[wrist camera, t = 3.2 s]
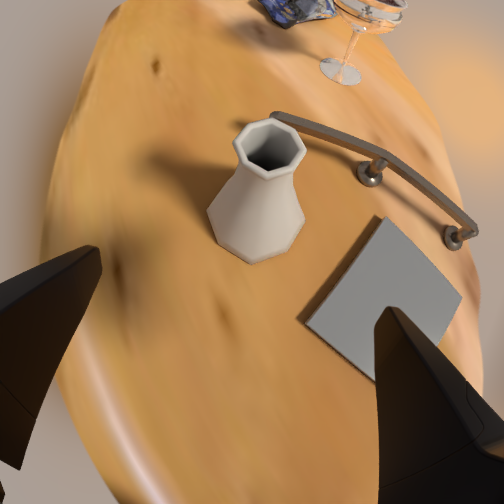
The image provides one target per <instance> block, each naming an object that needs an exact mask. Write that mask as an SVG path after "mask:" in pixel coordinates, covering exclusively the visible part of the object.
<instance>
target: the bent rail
mask: <svg viewBox="0 0 504 504" xmlns="http://www.w3.org/2000/svg"><path fill="white" fill-rule="evenodd" d="M271 117H273V118H275V119H277V120H279V121H281V122H283V123H285V124H286V125H288V126H290V127H292V128H294V129H296V131H298V132H301V133H305V134H308V135H311V136H314V137H316V138H319V139H322V140H325V141H328V142H331V143H333V144H336V145H339V146H341V147H344V148H347V149H349V150H352V151H354V152H357V153H359V154H362V155H364V156H367V157H369V158H371V159H373V160H372V161H364V162H362V163H361V164H360V165H359V166H358V168H357V172H356V173H357V177H358V179H359V181H360V182H361V183H362V184H363V185H365V186H367V187H376V186H377V185H378V184H379V183H380V182H381V181H382V177H383V176H382V171H383V169H384V168H385V167H386V166H387V167H388V168H390V169H391V170H393V171H394V172H395V173H397V174H398V175H400V176H401V177H402V178H404V179H405V180H406V181H408V182H409V183H410V184H412V185H413V186H414V187H416V188H417V189H418V190H419V191H421V192H422V193H423V194H424V195H426V196H427V197H428V198H429V199H431V200H432V201H433V202H434V203H436V204H437V205H438V206H439V207H440V208H441V209H443V210H444V211H445V212H446V213H447V214H448V215H450V216H451V217H452V218H453V219H454V220H455V221H456V222H457V223H459V224H460V225H461V226H462V228H460V229H458V228H457V227H456V226H449V227H447V228H446V229H445V231H444V234H443V238H444V242H445V245H446V246H447V248H448V249H449V250H451V251H456V250H459V249H460V248H461V246H462V243H463V241H465V240H467V239H470V238H472V237H475V236H477V235H478V232H479V231H478V227H477V224H476V223H475V222H474V221H473V220H472V219H471V218H470V217H469V216H468V215H467V214H466V213H464V212H463V211H462V210H461V209H460V208H459V207H458V206H457V205H456V204H455V203H453V202H452V201H451V200H450V199H449V198H448V197H447V196H446V195H444V194H443V193H442V192H441V191H440V190H438V189H437V188H436V187H435V186H434V185H432V184H431V183H430V182H429V181H427V180H426V179H425V178H424V177H422V176H421V175H420V174H419V173H417V172H416V171H415V170H413V169H412V168H411V167H409V166H408V165H407V164H405V163H404V162H403V161H401V160H400V159H399V158H397V157H396V156H394V155H393V154H391V153H390V152H389V151H388V152H387V150H385V149H382V148H380V147H378V146H375V145H373V144H371V143H368V142H366V141H364V140H361V139H359V138H356V137H354V136H351V135H349V134H346V133H343V132H341V131H338V130H335V129H333V128H330V127H327V126H324V125H322V124H319V123H316V122H313V121H310V120H307V119H304V118H300V117H297V116H294V115H291V114H287V113H284V112H281V111H279V112H278V111H274V112H272V113H271V114H270V117H269V118H271Z"/></svg>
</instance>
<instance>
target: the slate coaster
mask: <svg viewBox="0 0 504 504" xmlns="http://www.w3.org/2000/svg"><path fill="white" fill-rule="evenodd" d="M461 300H462V296H461V295H460V294H459V293H458V292H457V290H456V289H455V288H454V287H453V286H452V285H451V283H450V282H449V281H448V280H447V279H446V278H445V276H444V275H443V274H442V273H441V272H440V271H439V270H438V269H437V268H436V266H435V265H434V264H433V263H432V262H431V261H430V260H429V259H428V258H427V257H426V256H425V255H424V253H423V252H422V251H421V250H420V249H419V248H418V247H417V246H416V245H415V244H414V243H413V242H412V241H411V240H410V239H409V238H408V237H407V236H406V235H405V234H404V233H403V232H402V231H401V230H400V229H399V228H398V227H397V226H396V225H395V224H394V223H393V222H392V221H391V220H390V219H389V218H388V217H384V218H383V219H382V220H381V221H380V223H379V224H378V226H377V227H376V229H375V230H374V232H373V233H372V235H371V236H370V237H369V239H368V240H367V242H366V243H365V245H364V246H363V247H362V249H361V250H360V252H359V253H358V254H357V256H356V257H355V259H354V260H353V261H352V263H351V264H350V265H349V267H348V268H347V270H346V271H345V272H344V274H343V275H342V276H341V278H340V279H339V280H338V282H337V283H336V284H335V285H334V287H333V288H332V289H331V291H330V292H329V293H328V295H327V296H326V297H325V298H324V300H323V301H322V302H321V303H320V305H319V306H318V307H317V308H316V310H315V311H314V312H313V313H312V315H311V316H310V317H309V318H308V320H307V321H306V322H305V323H304V324H305V325H306V326H308V327H309V328H310V329H311V330H312V331H314V332H315V333H316V334H317V335H318V336H319V337H321V338H322V339H323V340H324V341H325V342H327V343H328V344H329V345H330V346H331V347H333V348H334V349H335V350H336V351H337V352H339V353H340V354H341V355H342V356H343V357H345V358H346V359H347V360H348V361H349V362H351V363H352V364H353V365H354V366H356V367H357V368H358V369H359V370H360V371H362V372H363V373H364V374H365V375H367V376H368V377H369V378H370V379H371V380H373V381H374V382H375V373H374V326H375V324H376V322H377V320H378V319H379V317H380V315H381V314H382V312H383V310H384V309H385V308H386V307H387V306H394V307H398V308H400V309H401V310H402V311H403V312H404V313H405V314H406V315H407V316H408V317H409V318H410V319H411V320H412V321H413V322H414V323H415V324H416V325H417V326H418V328H419V329H420V330H421V331H422V332H423V333H424V334H425V335H426V336H427V337H428V338H429V339H430V340H431V341H432V342H433V343H434V344H435V345H436V347H437V346H438V344H439V342H440V340H441V339H442V337H443V335H444V333H445V331H446V330H447V328H448V326H449V324H450V322H451V320H452V318H453V316H454V314H455V312H456V310H457V308H458V306H459V304H460V302H461Z"/></svg>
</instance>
